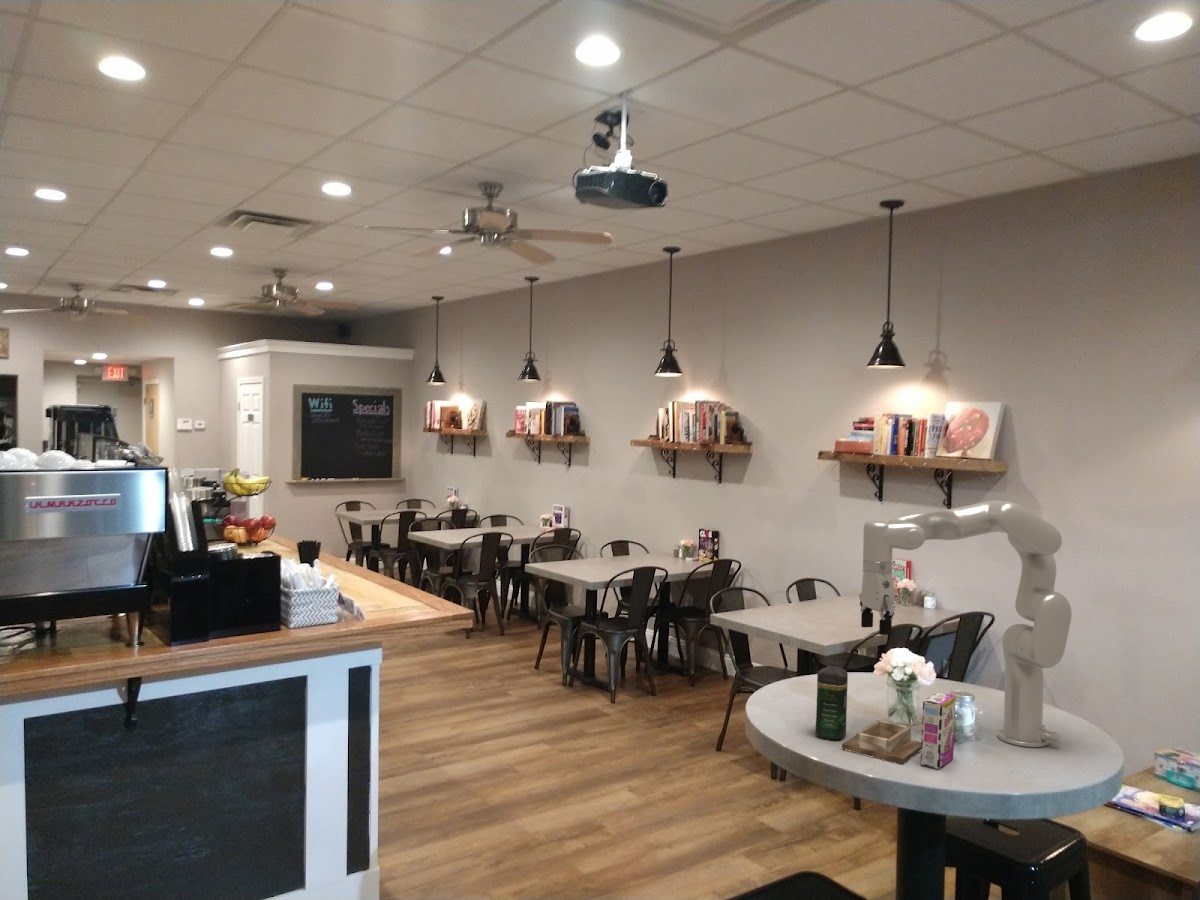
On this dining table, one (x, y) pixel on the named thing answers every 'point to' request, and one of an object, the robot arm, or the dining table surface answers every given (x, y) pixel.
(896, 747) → the stand
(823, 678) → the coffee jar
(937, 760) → the candy bar box
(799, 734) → the dining table surface
